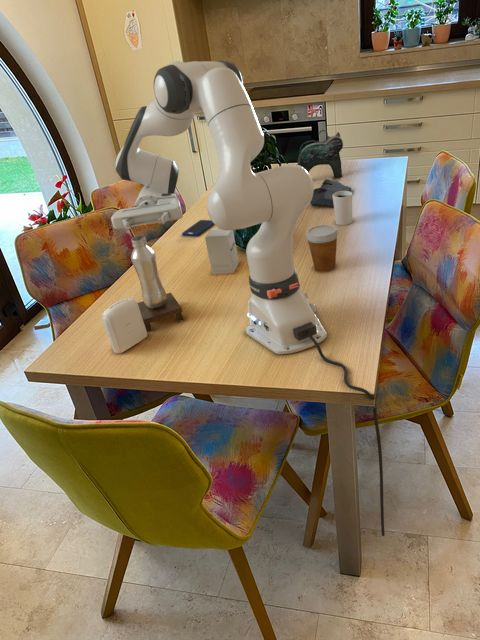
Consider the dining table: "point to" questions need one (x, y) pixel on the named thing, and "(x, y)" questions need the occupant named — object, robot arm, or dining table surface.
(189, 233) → the cell phone
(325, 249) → the disposable coffee cup
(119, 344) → the photo printer
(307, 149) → the ceramic cat
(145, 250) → the aluminum water bottle
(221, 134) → the robot arm
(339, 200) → the white paper cup
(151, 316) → the walnut riser
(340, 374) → the dining table surface
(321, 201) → the dark slate chunk
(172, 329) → the dining table surface
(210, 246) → the white packaging box
